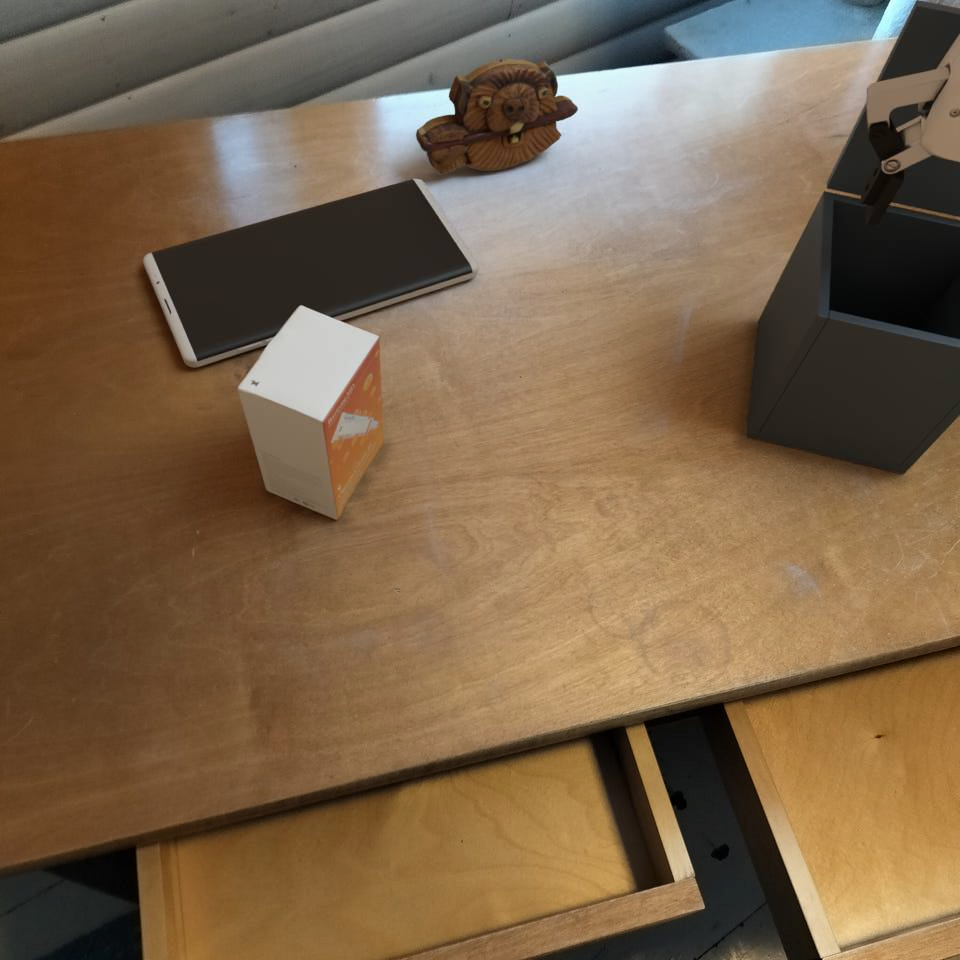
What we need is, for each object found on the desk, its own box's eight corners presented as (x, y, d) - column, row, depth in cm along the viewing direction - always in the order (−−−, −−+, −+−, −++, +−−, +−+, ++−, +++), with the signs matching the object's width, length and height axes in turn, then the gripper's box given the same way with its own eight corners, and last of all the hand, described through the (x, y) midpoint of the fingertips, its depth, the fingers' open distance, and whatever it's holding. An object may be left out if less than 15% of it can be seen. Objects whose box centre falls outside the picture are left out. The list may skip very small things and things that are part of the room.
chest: (904, 474, 69) (1012, 359, 57) (745, 436, 70) (817, 315, 58) (902, 354, 76) (998, 227, 64) (757, 321, 77) (823, 190, 65)
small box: (338, 523, 64) (322, 424, 53) (264, 491, 65) (233, 387, 54) (387, 442, 68) (381, 333, 57) (316, 413, 69) (297, 301, 58)
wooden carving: (432, 199, 83) (434, 108, 74) (412, 170, 85) (412, 78, 76) (577, 156, 87) (594, 65, 79) (554, 129, 89) (569, 38, 81)
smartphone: (481, 280, 78) (482, 266, 76) (189, 375, 70) (184, 362, 69) (420, 188, 83) (420, 173, 82) (144, 267, 76) (139, 252, 74)
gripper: (1282, -40, 44) (1066, 217, 59) (944, -102, 45) (816, 164, 60) (1320, 42, 40) (1079, 295, 55) (950, -29, 41) (811, 237, 56)
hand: (942, 227), depth 57 cm, fingers open, 9 cm apart
